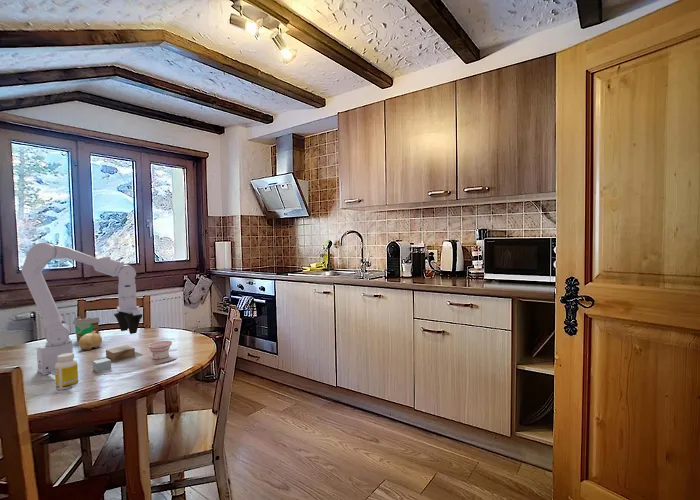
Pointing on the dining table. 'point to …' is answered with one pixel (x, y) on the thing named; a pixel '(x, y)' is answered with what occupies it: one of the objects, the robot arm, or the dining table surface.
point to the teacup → (160, 350)
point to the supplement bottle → (66, 371)
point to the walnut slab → (120, 353)
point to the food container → (85, 326)
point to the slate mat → (125, 358)
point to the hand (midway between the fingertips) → (128, 332)
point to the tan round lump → (90, 341)
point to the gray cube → (101, 364)
